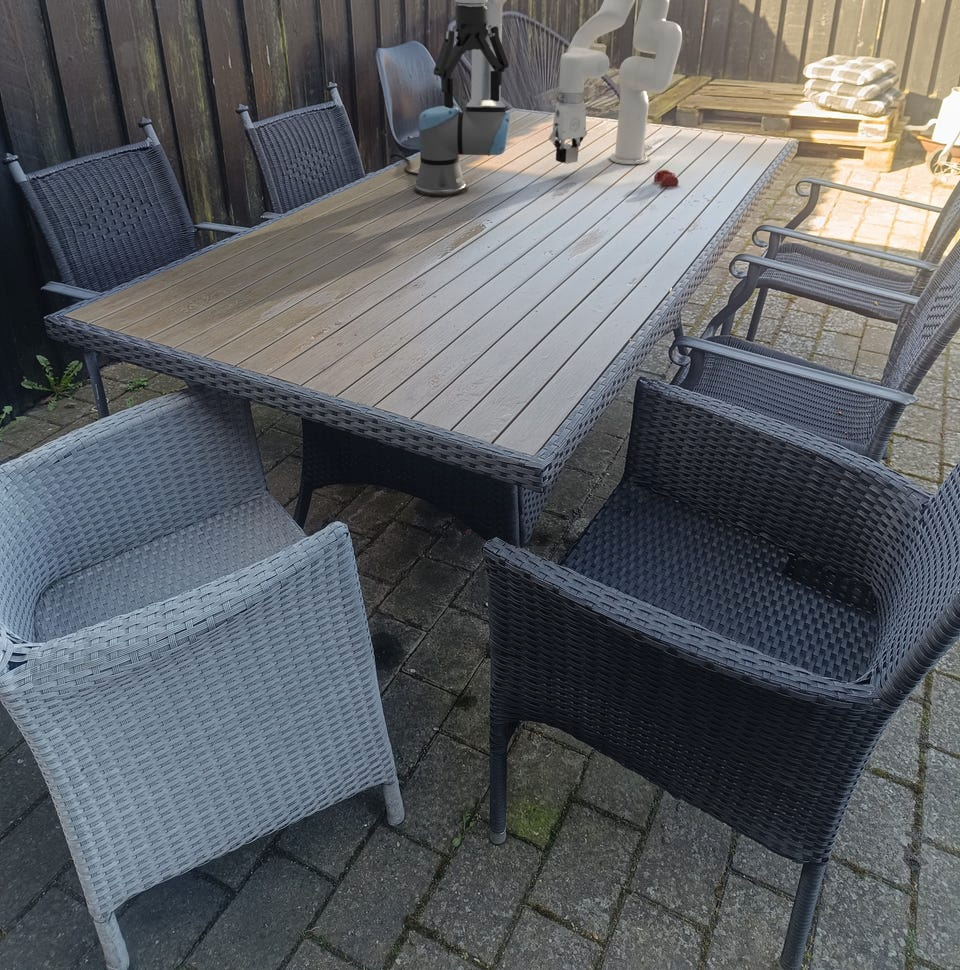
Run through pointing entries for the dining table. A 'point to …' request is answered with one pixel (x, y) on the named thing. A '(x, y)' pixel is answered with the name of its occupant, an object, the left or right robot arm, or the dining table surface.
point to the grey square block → (570, 153)
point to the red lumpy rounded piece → (666, 178)
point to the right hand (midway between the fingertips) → (566, 159)
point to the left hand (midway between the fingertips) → (472, 104)
